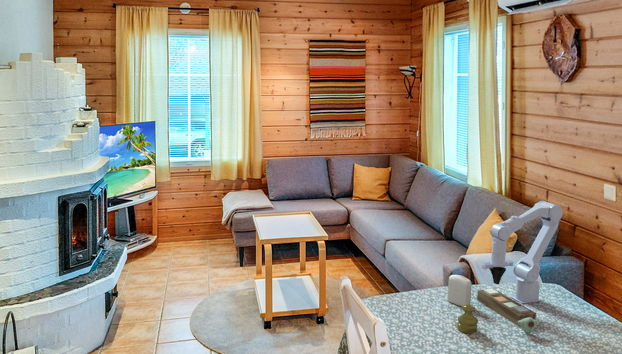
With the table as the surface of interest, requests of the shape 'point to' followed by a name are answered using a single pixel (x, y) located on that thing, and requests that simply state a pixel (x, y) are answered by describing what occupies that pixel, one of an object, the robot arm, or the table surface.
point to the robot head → (528, 324)
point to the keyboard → (503, 307)
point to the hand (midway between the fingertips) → (496, 283)
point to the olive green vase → (467, 320)
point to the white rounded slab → (459, 290)
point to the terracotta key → (500, 298)
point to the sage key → (510, 304)
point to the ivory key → (491, 292)
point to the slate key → (521, 309)
